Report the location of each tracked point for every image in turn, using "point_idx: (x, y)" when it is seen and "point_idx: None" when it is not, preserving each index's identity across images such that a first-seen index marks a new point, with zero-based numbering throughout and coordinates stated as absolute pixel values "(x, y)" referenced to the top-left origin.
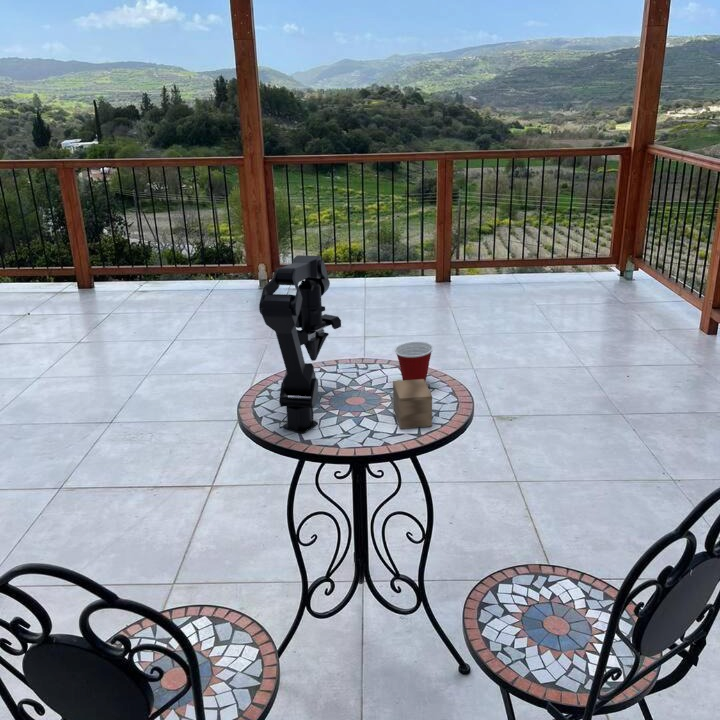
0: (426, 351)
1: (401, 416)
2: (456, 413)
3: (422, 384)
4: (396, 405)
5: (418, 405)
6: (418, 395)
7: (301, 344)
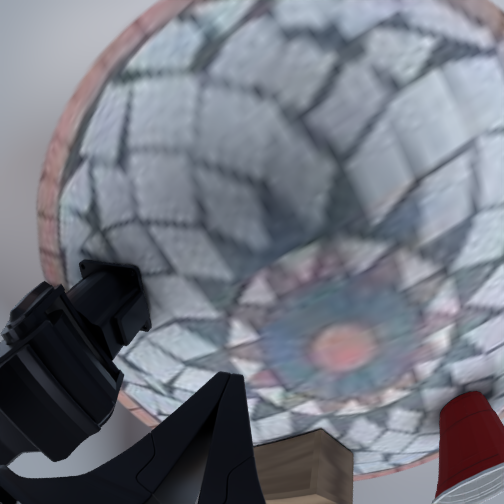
0: (497, 475)
1: None
2: None
3: None
4: (275, 467)
5: None
6: None
7: (1, 489)
